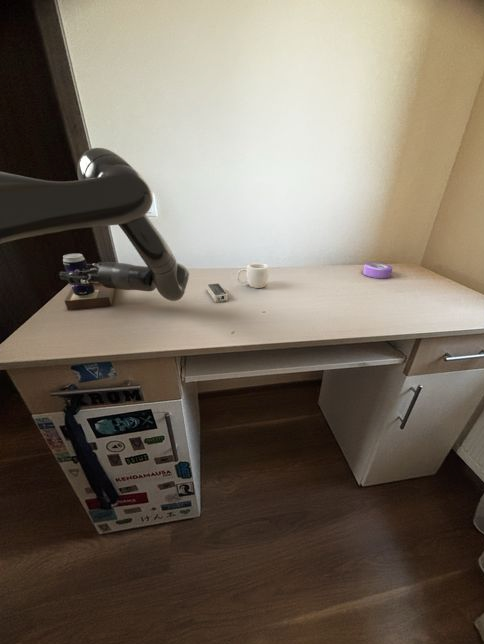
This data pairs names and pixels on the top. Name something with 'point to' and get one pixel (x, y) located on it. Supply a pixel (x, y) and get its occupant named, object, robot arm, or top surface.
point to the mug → (256, 275)
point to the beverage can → (74, 265)
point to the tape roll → (377, 270)
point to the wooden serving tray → (90, 298)
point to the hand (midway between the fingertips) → (71, 271)
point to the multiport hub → (217, 292)
